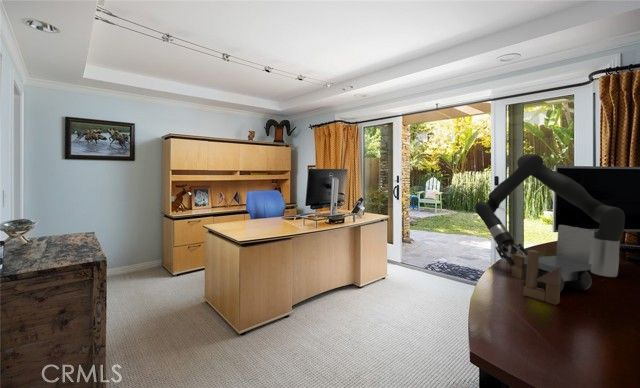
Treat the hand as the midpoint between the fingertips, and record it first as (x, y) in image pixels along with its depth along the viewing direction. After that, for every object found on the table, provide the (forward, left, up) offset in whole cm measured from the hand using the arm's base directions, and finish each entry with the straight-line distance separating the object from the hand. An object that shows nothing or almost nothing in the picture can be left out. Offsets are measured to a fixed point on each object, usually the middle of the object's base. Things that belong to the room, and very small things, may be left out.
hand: (520, 264), depth 139 cm
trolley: (-3, +14, -6) cm, 15 cm away
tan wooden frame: (+15, +22, -6) cm, 27 cm away
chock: (0, 0, -6) cm, 6 cm away
